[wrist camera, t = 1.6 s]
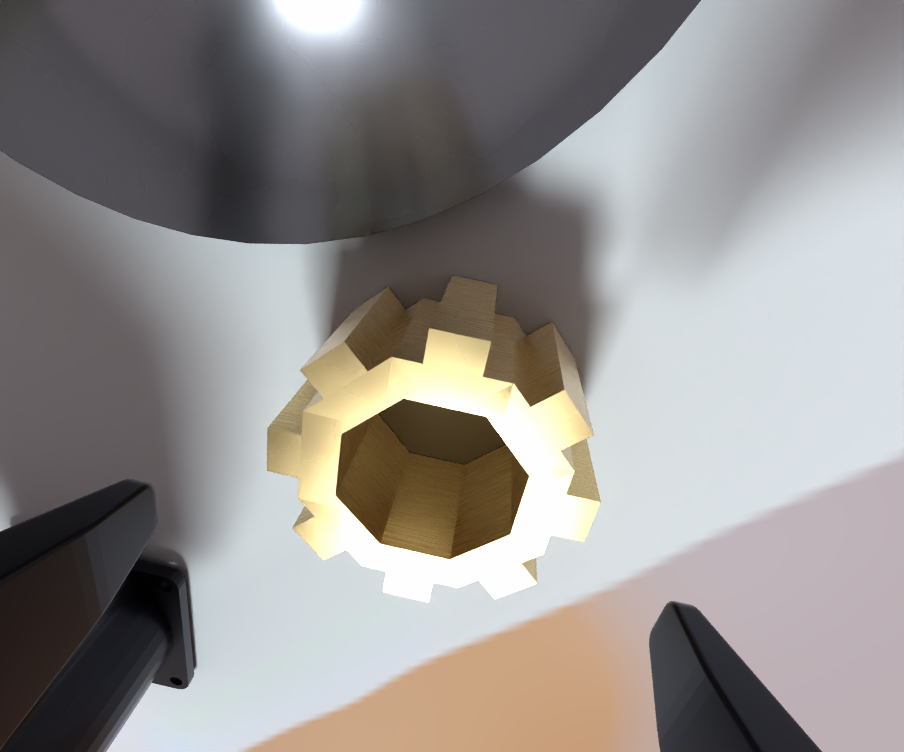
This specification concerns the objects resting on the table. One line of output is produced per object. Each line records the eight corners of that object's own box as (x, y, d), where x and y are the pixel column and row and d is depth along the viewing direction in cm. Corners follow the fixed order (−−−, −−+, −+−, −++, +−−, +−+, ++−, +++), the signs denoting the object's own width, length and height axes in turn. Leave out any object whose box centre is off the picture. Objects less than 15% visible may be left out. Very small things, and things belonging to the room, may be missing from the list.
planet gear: (540, 523, 15) (547, 629, 12) (317, 473, 15) (265, 565, 12) (616, 310, 12) (653, 377, 9) (334, 249, 12) (269, 293, 9)
